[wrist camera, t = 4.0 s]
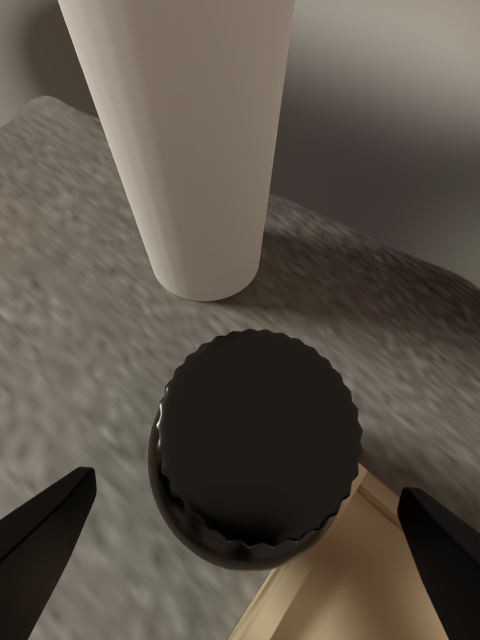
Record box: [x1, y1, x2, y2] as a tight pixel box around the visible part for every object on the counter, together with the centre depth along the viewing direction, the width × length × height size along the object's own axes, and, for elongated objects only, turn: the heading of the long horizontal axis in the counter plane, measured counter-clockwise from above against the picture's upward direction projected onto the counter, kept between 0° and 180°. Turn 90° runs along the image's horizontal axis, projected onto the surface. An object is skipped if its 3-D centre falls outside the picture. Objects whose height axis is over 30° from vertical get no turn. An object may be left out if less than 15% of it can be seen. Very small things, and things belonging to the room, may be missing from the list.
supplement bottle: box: [148, 329, 363, 572], centre depth 11 cm, size 7×7×12 cm
